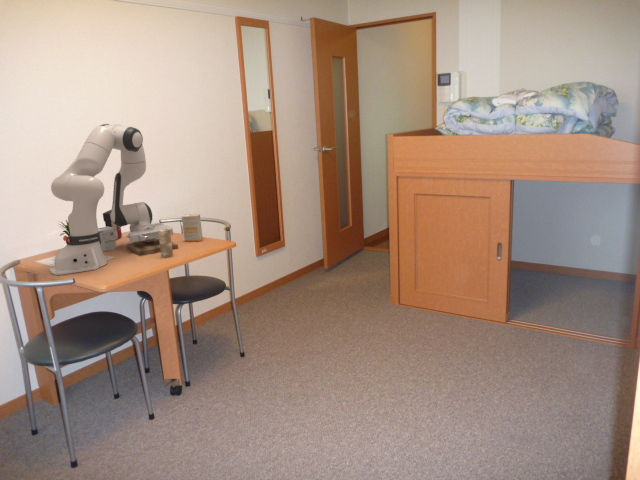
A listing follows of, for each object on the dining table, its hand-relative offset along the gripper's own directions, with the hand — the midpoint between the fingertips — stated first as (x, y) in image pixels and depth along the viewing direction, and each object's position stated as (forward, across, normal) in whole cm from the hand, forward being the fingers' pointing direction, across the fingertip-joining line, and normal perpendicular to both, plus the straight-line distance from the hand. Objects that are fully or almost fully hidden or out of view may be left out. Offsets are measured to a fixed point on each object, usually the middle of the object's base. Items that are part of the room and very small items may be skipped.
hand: (156, 236), depth 251 cm
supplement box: (-8, +21, +7) cm, 24 cm away
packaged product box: (-43, -8, +7) cm, 45 cm away
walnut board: (-8, 0, +7) cm, 11 cm away
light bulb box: (-22, -19, +7) cm, 30 cm away
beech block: (+12, 0, +7) cm, 14 cm away
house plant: (-33, -31, +7) cm, 46 cm away
